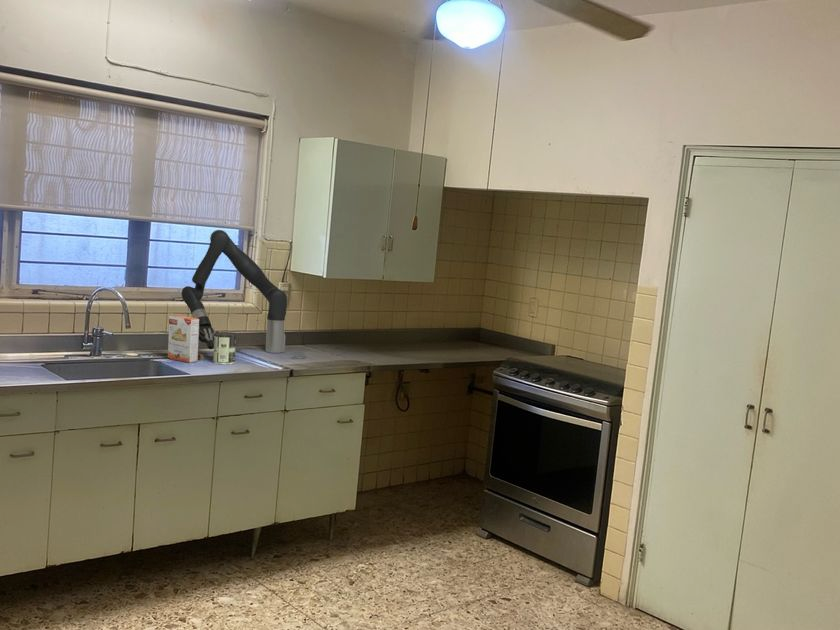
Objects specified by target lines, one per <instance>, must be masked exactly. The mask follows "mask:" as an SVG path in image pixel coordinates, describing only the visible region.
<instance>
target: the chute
mask: <svg viewBox="0 0 840 630" xmlns="http://www.w3.org/2000/svg"><path fill="white" fill-rule="evenodd" d="M198 359H199V361H203V360H204V354H202V353H199V352H198Z"/></svg>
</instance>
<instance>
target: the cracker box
mask: <svg viewBox="0 0 840 630" xmlns="http://www.w3.org/2000/svg"><path fill="white" fill-rule="evenodd" d="M168 318H169V319H168V342H167V345H168V346H167V359H168V358H170V359H169V360H172V359H174V361H177V360H178V361H179V362H182V363H187V364H191V363H196V362H198V353H199V339H198V337H199V319H197V318H192V316H191V317H189V316H184V315H180V314H179V315H177V314H176V315H169V317H168Z"/></svg>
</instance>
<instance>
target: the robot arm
mask: <svg viewBox="0 0 840 630" xmlns="http://www.w3.org/2000/svg"><path fill="white" fill-rule="evenodd" d="M208 246H209V247H208V249H207V251H206V253H205V255H204V257H203V258H202V260H201V261H200V263H199V265H198V266H197V268H196V270H195V272H194V274H193V276H192V278H191V281H192V283H194V284H195V286H194V287H193V286H189V285H188V286H184V287H183V288H182V290H181V298H182V300H183V301H184V303H185V305H186V304H187V305H186V306H187V307H188V309H189V311H190V314H191V318H197V319H199V337H198V341H199V342H201V343H205V344H206V346H207V348H208V349H209V350H214V333H216V332H219V331H218V330H217V331H216V330H215V329H214V328H213V326H212V323H211V320H210V318H209V315H208V313H207V311H206V308H205V306H204V303H203V302H202V301H201V300H202V299H203V296H204V291H205V287H206V283H207V281H208V279H209V277H210V276H211V273H212V271H213V269H214V266H216V263H217V261H218V259H219V258H220V256H221V254H222V253H223V254H224V255H225V256H226V257H227V259H228V260H229V261H230V263H232V265H233V267H234V268H235V269H236V270H237V272H238V273H239V274H240V275H242V277H244V278H245V280H246V281H248V282H249V283H250V284H251V285H252V286H253V287H255V288H256V289H258V290H259V292H260V293H261V294H262V295H263V296H264V298H265V299H266V300H267V302H268V313H267V316H266V331H265V332H266V335H265V352H266V353H270V354H273V353H274V354H282V353H285V352H286V339H287V338H286V335H287V334H286V333H285V324H286V323H285V322H286V316H287V310H288V309H287V308H288V307H287V306H288V298H287V293H286V292H285V291H284V290H282V289H280V288H278V287H277V286H276V285H275V284H274V283H273V282H271V280H269V279H268V277H267V276H266V274H265V273H264V272H263V270H262V269H261V267H259V265H258V264H257V263H256V262H255V261H254V260H253V259H252V258H251V257H250V256H248V255H247V254H246V253H245V252H244V251H243V250H241V249H240V248H239V247H238V246H237V245H236V244H235V241H234V242H233V240H232V239H231V237H230V235H228V233H227V232H226V231H225V230H222V229H216V230H214V231H213V232H211V234H210V243H209V245H208Z"/></svg>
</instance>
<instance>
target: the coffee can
mask: <svg viewBox="0 0 840 630" xmlns="http://www.w3.org/2000/svg"><path fill="white" fill-rule="evenodd" d="M213 337H214V342H213V344H214V347H213V364H217V365H233V364H235V363H236V341H237V333H235V332H229V331H218V332H216V333H214V336H213Z"/></svg>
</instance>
